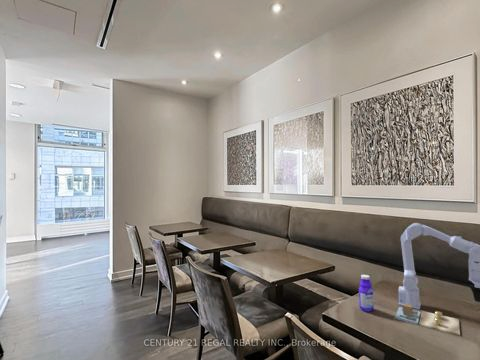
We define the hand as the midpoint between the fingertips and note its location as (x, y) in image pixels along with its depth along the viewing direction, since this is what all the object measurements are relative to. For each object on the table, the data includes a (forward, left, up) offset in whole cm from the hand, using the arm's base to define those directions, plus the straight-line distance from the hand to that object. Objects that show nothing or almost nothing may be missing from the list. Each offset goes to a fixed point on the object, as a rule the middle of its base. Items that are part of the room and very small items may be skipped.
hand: (477, 298), depth 126 cm
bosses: (-15, -14, -9) cm, 23 cm away
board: (-15, -14, -10) cm, 23 cm away
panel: (-27, -15, -10) cm, 33 cm away
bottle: (-45, -19, -10) cm, 50 cm away
